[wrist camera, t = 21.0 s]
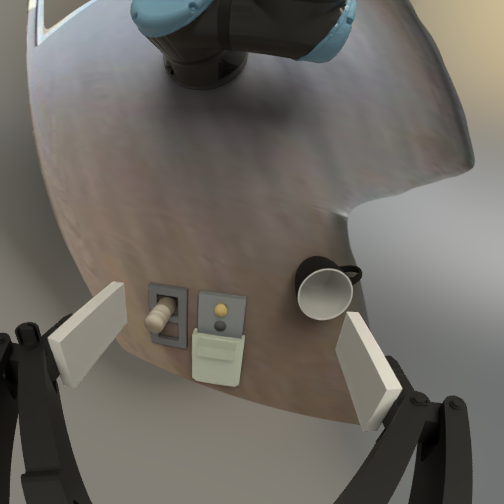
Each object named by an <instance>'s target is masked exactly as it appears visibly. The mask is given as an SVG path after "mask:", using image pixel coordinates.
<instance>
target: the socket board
mask: <svg viewBox="0 0 504 504" xmlns="http://www.w3.org/2000/svg"><path fill="white" fill-rule="evenodd" d="M148 286H149V309H150V312H151V311H152V310H153V308H154V307H155V306H156V304H157V303H158V302H159V294H160V295H166V296H172V297H178V314H172V315H171V317H170V318H169V320H168V322H173V323H178V335H179V338H176V337H170V336H165V335H160V333H152V332H151V338H152V342H154V343H158V344H163V345H168V346H173V347H178V348H184V349H187V346H188V288H182V287H175V286H169V285H163V284H157V283H150V284H149V285H148Z"/></svg>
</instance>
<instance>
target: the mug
mask: <svg viewBox="0 0 504 504" xmlns="http://www.w3.org/2000/svg"><path fill="white" fill-rule="evenodd" d="M345 272H356V273H358V274H357V275H355V276H354V277H351V278H350V277H348V276H347V275H346V273H345ZM361 277H362V271H361V269H360V268H359V267H357V266H352V265H348V266H340V267H339V266H338V265H336V264H335V263H334V262H333V261H331V260H329V259H327V258H325V257H321V256H313V257H310V258H308V259H306V260H305V261H303V262H302V263H301V265H300V266H299V268H298V270H297V273H296V281H295V288H296V297H297V301H298V304H299V307H300V309H301V310H302V311H303V313H304V314H305V315H307V316H308V317H310V318H312V319H315V320H329V319H332V318H335V317H337V316H339V315H340V314H341V313H343V312H344V311H345V310H346V309H347V307H348V306H349V304H350V302H351V300H352V296H353V287H352V286H353V285H354V284H355V283H357V282H358V281H359V280H360V279H361Z"/></svg>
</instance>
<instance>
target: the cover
mask: <svg viewBox="0 0 504 504" xmlns="http://www.w3.org/2000/svg"><path fill="white" fill-rule="evenodd" d="M244 341H245V335H242V339H239V338H232V337H224V336H217V335H210V334H204V333H198V329H197V328H195V329H194V331H193V334H192V378H194V379H195V381H200V382H206V383H212V384H219V385H226V386H233V387H236V385H239V380H240V372H241V364H242V356H243V349H244Z"/></svg>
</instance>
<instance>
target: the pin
mask: <svg viewBox="0 0 504 504" xmlns="http://www.w3.org/2000/svg"><path fill="white" fill-rule="evenodd" d="M176 307H177V300H176V299H175V297H172V296H166V295H164V296H163V297H162V298H161V299H160V300H159V302H158V303H157V304H156V306H155V307H154V308H153V310H152V311H151V312H150V313H149V315H148V316H147V317H146V319H145V321H144V324H145V327H146V328H147V329H148V330H149V331H150V332H152V333H160V332H161V331H162V330H163V328H164V327H165V325H166V323H167V322H168V320H169V318H170V317H171V315H172V314H173V312H174V310H175V309H176Z"/></svg>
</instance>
